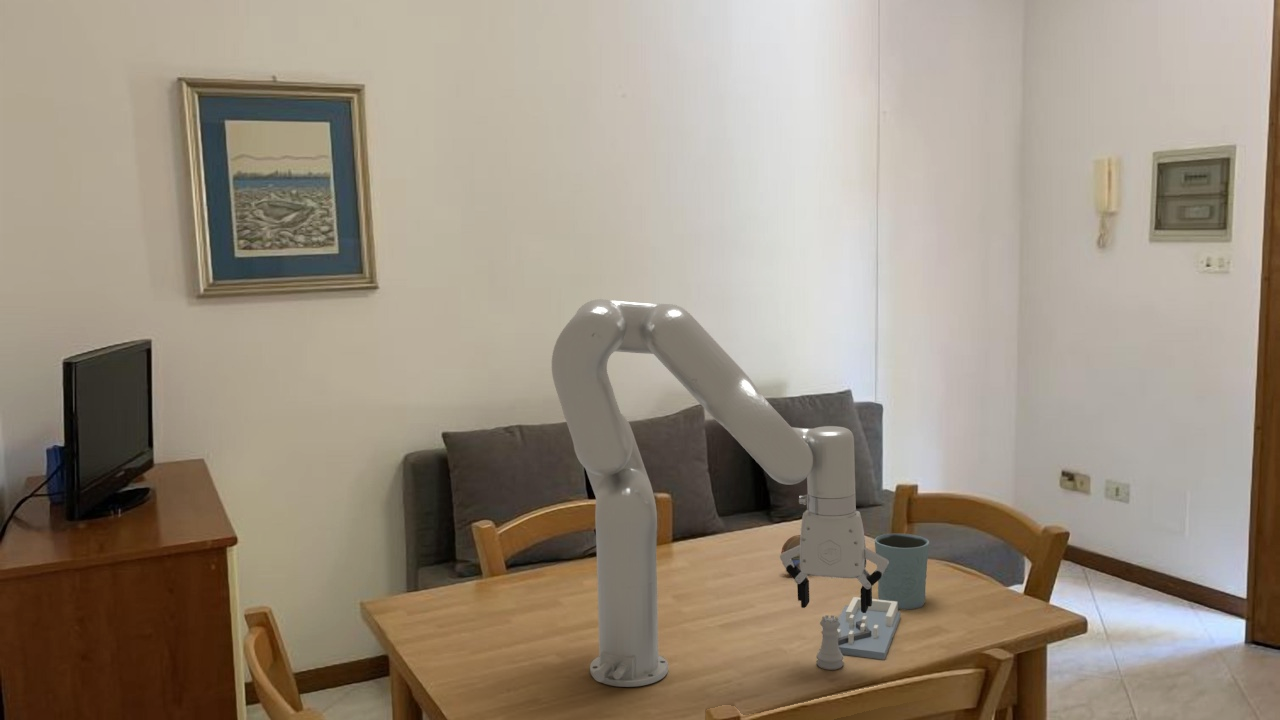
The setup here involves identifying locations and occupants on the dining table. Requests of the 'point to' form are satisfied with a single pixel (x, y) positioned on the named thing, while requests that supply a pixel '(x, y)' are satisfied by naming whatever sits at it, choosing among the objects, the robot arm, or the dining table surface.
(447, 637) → the dining table surface
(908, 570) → the teal cup
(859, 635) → the board
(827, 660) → the rook chess piece
